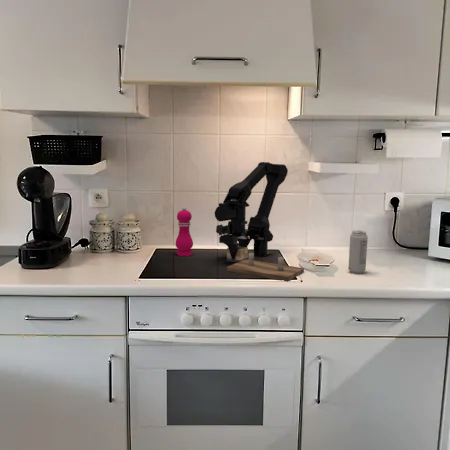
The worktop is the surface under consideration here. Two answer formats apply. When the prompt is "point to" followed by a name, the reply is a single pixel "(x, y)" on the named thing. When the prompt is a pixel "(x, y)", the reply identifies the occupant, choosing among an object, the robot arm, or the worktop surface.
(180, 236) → the pepper mill
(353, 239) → the energy drink can
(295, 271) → the pin board
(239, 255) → the sleeve
